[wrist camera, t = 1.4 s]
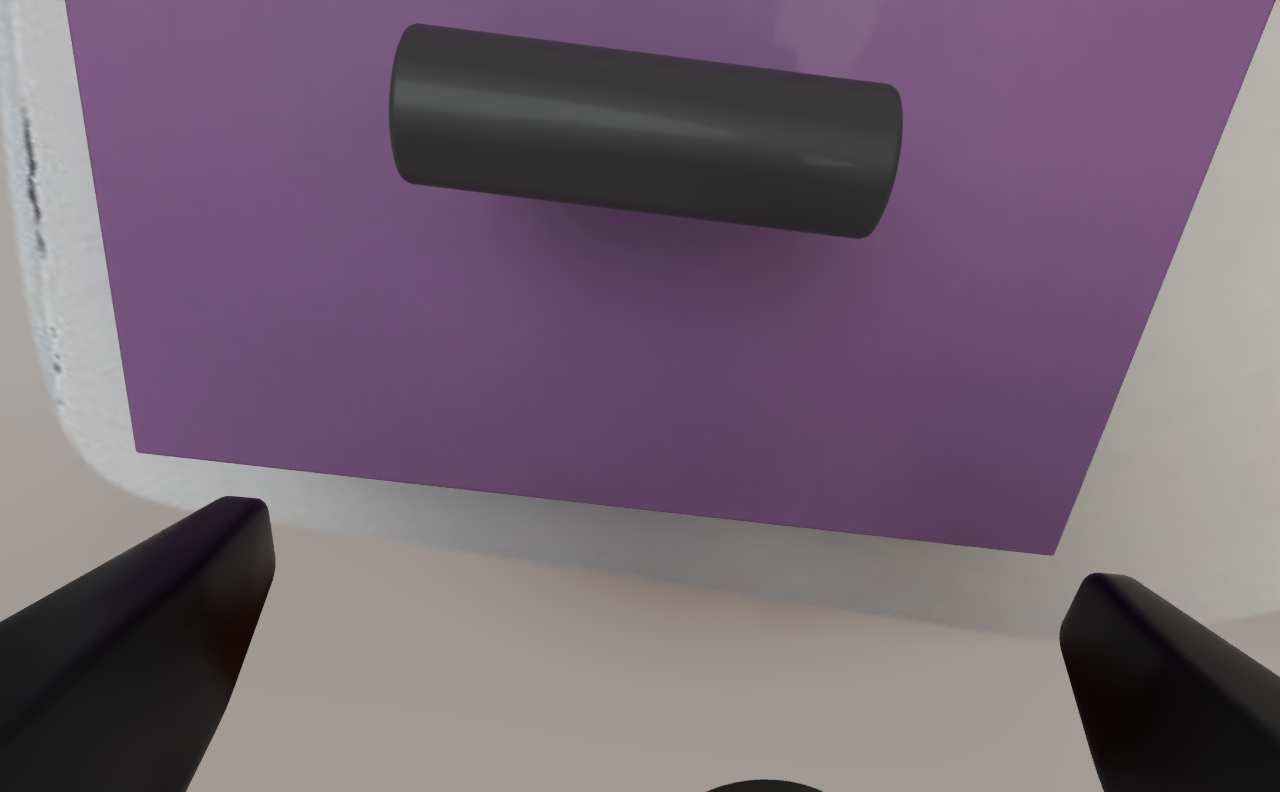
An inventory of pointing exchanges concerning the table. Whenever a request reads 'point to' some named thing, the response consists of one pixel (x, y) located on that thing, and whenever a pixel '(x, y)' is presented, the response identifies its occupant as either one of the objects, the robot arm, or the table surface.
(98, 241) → the table surface
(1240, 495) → the table surface
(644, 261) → the lid
